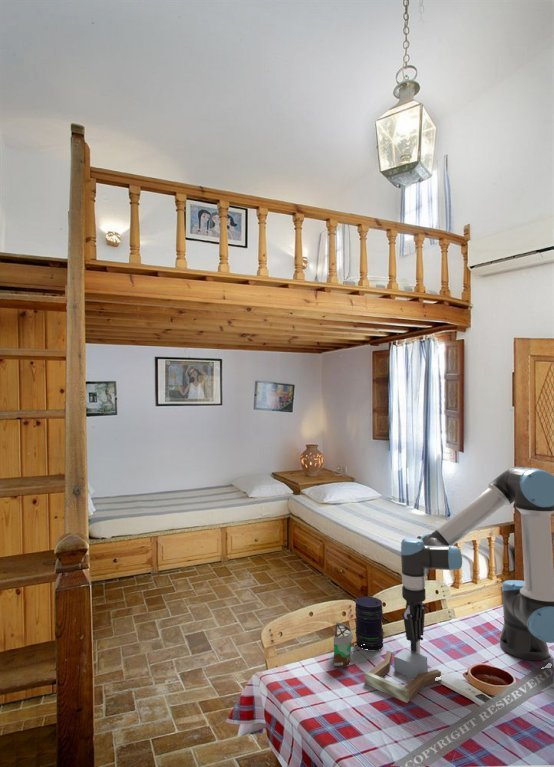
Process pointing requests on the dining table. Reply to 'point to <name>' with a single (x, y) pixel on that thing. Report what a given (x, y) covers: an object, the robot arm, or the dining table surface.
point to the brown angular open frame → (393, 689)
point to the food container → (342, 645)
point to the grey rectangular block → (410, 663)
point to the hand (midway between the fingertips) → (415, 660)
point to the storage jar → (369, 623)
